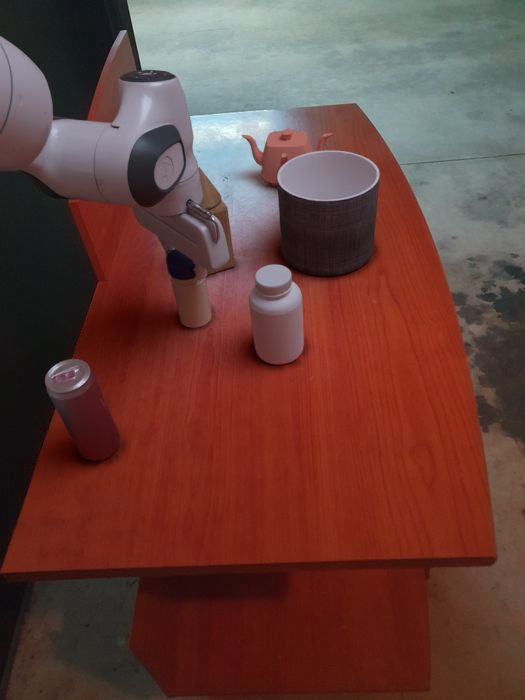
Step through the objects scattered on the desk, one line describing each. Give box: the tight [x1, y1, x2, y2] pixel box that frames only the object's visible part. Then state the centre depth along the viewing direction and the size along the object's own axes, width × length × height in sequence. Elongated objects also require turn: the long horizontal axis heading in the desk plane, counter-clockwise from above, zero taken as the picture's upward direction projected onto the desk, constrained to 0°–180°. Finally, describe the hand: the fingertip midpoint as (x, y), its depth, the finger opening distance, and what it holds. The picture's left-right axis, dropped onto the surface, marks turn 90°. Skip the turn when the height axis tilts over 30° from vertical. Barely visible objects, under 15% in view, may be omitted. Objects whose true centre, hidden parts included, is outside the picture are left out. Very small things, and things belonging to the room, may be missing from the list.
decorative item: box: [198, 166, 235, 276], centre depth 103 cm, size 7×7×20 cm
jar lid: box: [165, 249, 196, 280], centre depth 91 cm, size 6×6×2 cm
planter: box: [277, 150, 381, 277], centre depth 105 cm, size 18×18×16 cm
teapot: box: [241, 127, 334, 187], centre depth 127 cm, size 14×14×11 cm
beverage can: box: [44, 358, 121, 462], centre depth 76 cm, size 6×6×15 cm
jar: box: [170, 276, 213, 328], centre depth 95 cm, size 6×6×11 cm
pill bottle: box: [248, 264, 305, 366], centre depth 87 cm, size 8×8×15 cm
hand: (186, 267), depth 91 cm, fingers closed on jar lid, 6 cm apart
